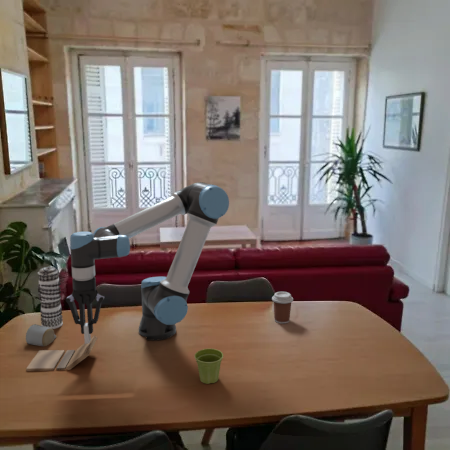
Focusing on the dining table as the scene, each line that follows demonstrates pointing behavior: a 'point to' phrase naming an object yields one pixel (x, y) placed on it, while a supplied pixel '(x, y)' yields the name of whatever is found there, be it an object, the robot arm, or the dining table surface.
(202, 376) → the plant pot
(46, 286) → the decorative candle
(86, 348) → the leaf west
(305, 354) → the dining table surface
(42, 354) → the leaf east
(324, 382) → the dining table surface
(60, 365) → the centre strip
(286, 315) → the coffee cup
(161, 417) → the dining table surface
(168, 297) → the robot arm
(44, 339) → the ceramic mug
